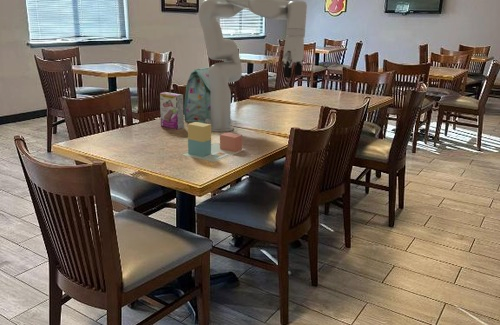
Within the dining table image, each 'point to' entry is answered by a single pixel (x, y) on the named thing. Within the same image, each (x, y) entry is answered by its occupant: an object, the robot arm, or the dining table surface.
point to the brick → (231, 142)
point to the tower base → (199, 148)
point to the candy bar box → (171, 110)
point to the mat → (214, 148)
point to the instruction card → (218, 155)
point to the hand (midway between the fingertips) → (292, 76)
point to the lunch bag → (198, 97)
